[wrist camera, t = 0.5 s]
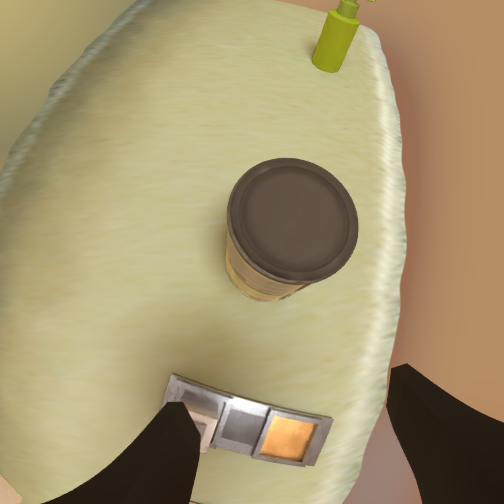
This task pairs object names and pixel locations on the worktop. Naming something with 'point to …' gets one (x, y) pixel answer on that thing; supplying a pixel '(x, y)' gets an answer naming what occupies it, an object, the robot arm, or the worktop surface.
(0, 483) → the corner bracket
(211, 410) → the block
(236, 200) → the coffee can
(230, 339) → the worktop surface
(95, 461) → the worktop surface
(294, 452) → the rail
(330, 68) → the soap dispenser
